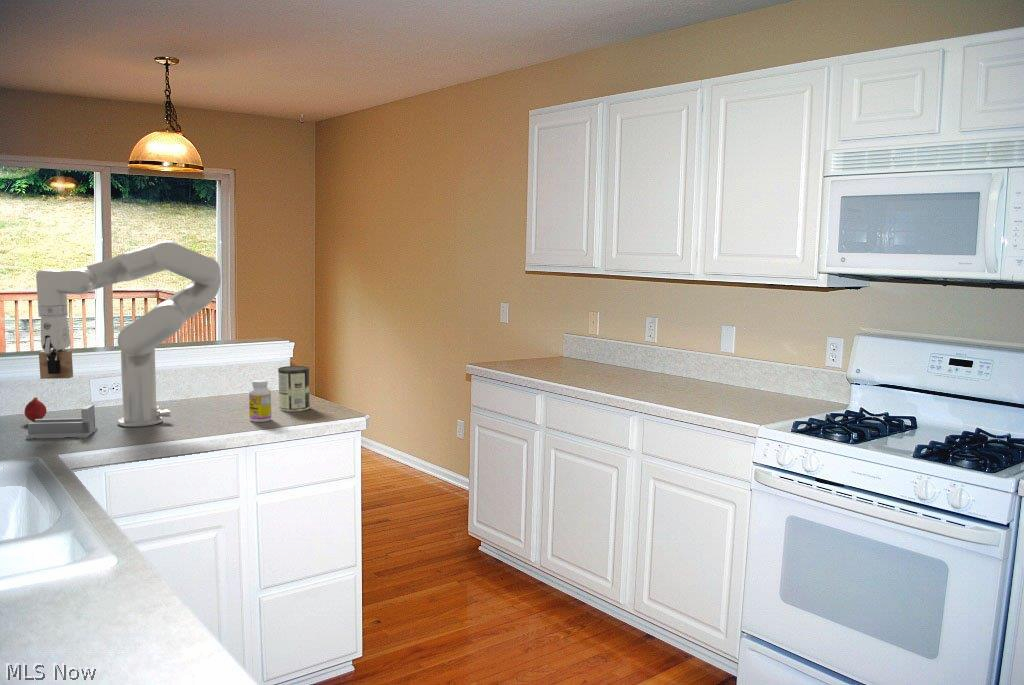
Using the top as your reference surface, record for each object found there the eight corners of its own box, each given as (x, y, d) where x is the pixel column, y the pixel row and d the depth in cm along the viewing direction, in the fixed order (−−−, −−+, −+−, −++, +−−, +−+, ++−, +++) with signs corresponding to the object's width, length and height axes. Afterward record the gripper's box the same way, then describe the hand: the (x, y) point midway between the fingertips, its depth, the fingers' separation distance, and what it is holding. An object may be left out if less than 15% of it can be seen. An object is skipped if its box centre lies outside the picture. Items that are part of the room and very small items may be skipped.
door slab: (73, 376, 241) (71, 350, 240) (69, 378, 238) (67, 351, 237) (44, 377, 240) (42, 350, 239) (40, 378, 237) (38, 352, 236)
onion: (36, 425, 243) (35, 399, 242) (20, 424, 244) (19, 398, 243) (51, 421, 249) (50, 396, 248) (35, 420, 250) (34, 395, 249)
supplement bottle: (245, 420, 256) (244, 380, 254) (264, 417, 260) (263, 378, 259) (256, 423, 251) (255, 383, 249) (275, 420, 256) (274, 380, 254)
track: (97, 429, 239) (95, 403, 238) (86, 437, 230) (85, 410, 229) (38, 431, 236) (37, 404, 235) (26, 438, 227) (24, 411, 226)
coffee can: (295, 404, 281) (294, 364, 279) (316, 408, 275) (315, 367, 274) (272, 409, 272) (271, 368, 270) (293, 413, 267) (292, 371, 265)
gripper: (55, 313, 229) (59, 377, 232) (76, 308, 245) (80, 368, 248) (27, 314, 228) (31, 377, 230) (50, 308, 244) (54, 368, 246)
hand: (56, 371), depth 239 cm, fingers closed on door slab, 3 cm apart
